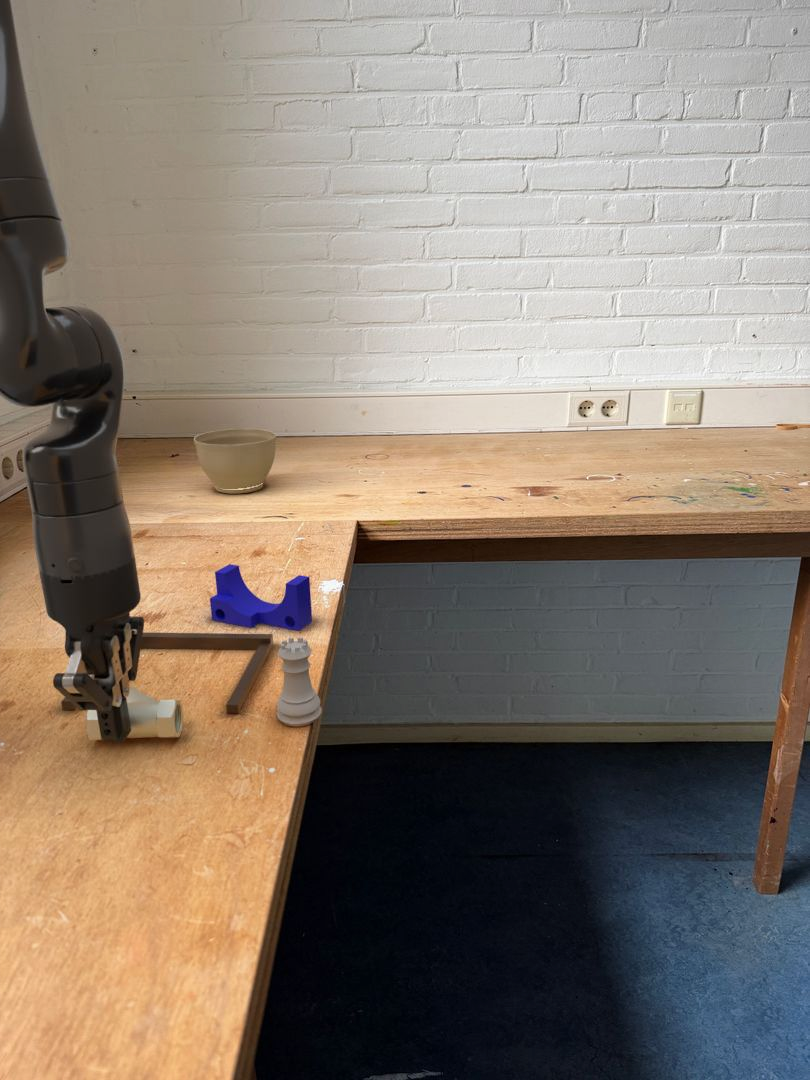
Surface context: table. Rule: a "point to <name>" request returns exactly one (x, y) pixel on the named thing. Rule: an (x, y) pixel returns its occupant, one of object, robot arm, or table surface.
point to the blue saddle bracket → (259, 602)
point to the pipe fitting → (145, 717)
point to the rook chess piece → (297, 685)
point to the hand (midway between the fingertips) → (116, 737)
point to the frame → (214, 641)
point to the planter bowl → (236, 457)
